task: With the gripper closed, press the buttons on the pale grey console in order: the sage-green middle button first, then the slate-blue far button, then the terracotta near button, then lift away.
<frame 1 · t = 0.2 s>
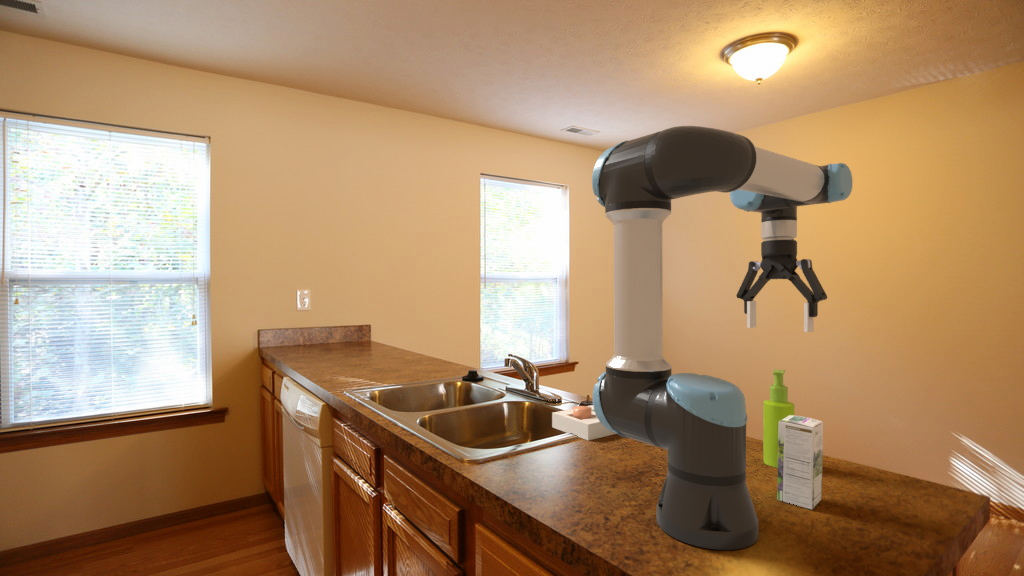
hand: (778, 329, 119), 28 cm above the worktop, fingers open, 13 cm apart
terracotta button: (582, 414, 132), point 4 cm above the worktop, slide at 0.0 cm
syrup box: (800, 502, 89), on the worktop
blue button: (626, 405, 141), point 4 cm above the worktop, slide at 0.0 cm
button panel: (605, 425, 137), on the worktop
green button: (605, 409, 137), point 4 cm above the worktop, slide at 0.0 cm
soap dispenser: (778, 463, 108), on the worktop
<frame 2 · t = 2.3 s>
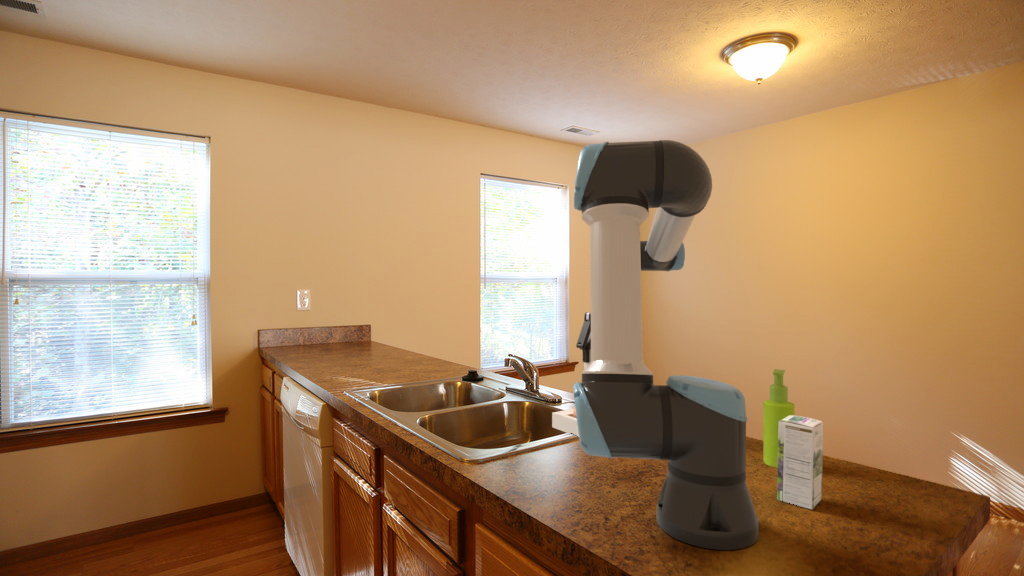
hand: (606, 372, 137), 15 cm above the worktop, fingers open, 12 cm apart
nothing on the worktop moved.
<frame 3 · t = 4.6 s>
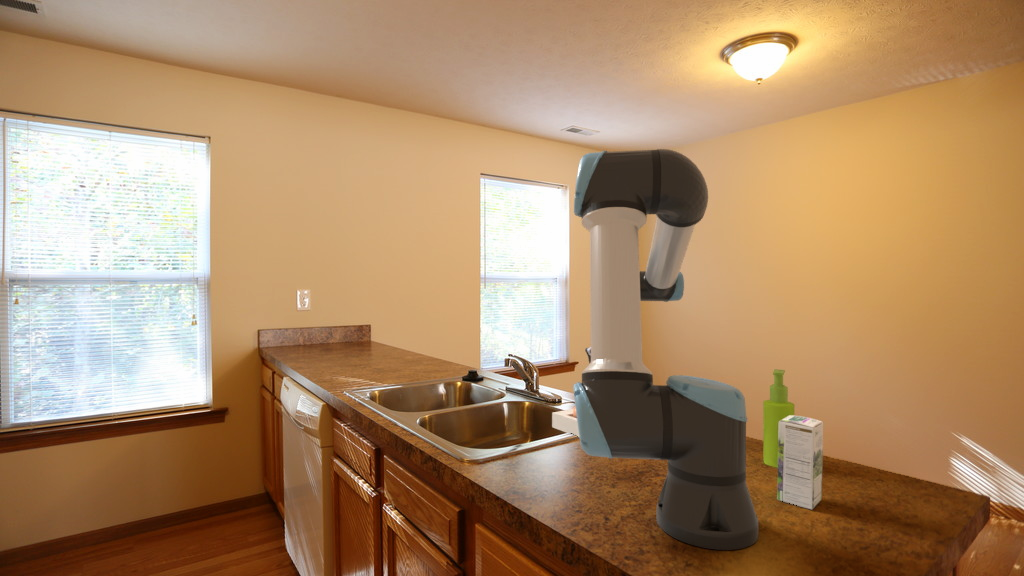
hand: (605, 407, 137), 5 cm above the worktop, fingers closed
green button: (605, 414, 137), point 3 cm above the worktop, slide at 1.3 cm, touching gripper
everything else where it was.
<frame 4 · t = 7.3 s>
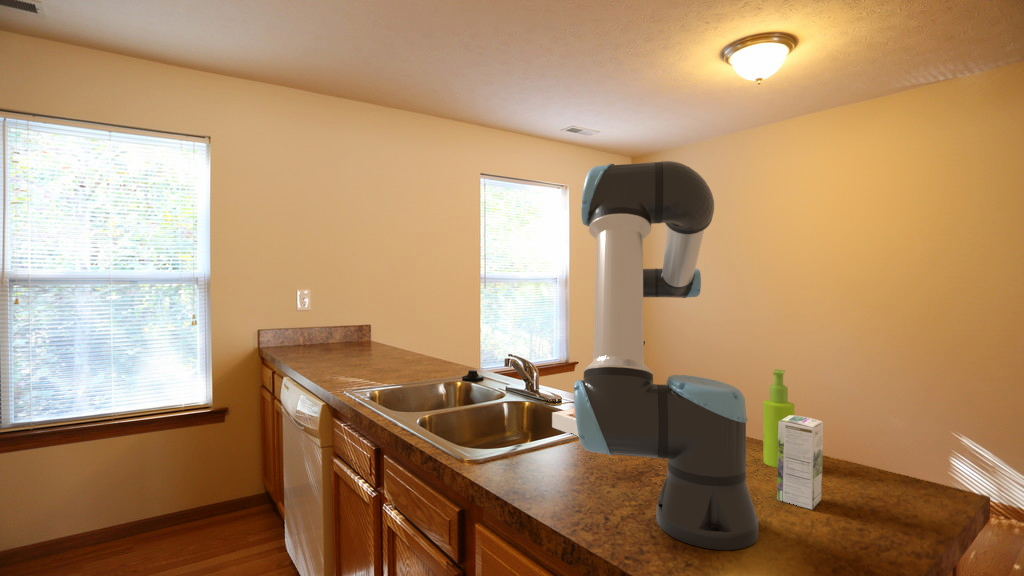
hand: (626, 400, 142), 6 cm above the worktop, fingers closed
blue button: (626, 406, 141), point 4 cm above the worktop, slide at 0.5 cm, touching gripper
green button: (605, 415, 137), point 3 cm above the worktop, slide at 1.5 cm
everything else where it was.
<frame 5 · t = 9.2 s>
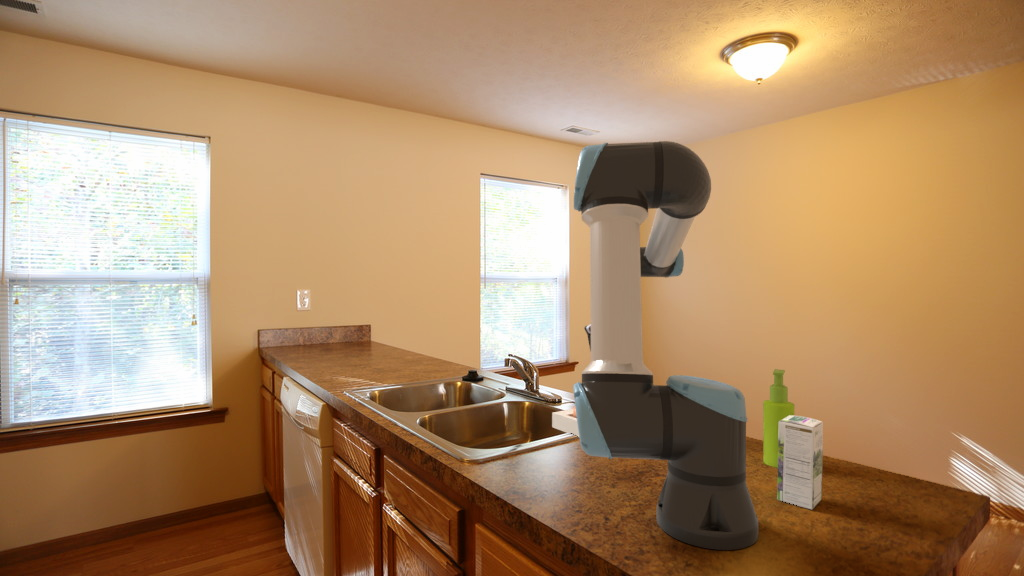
hand: (604, 386, 136), 11 cm above the worktop, fingers closed
blue button: (626, 410, 141), point 3 cm above the worktop, slide at 1.5 cm
everything else where it was.
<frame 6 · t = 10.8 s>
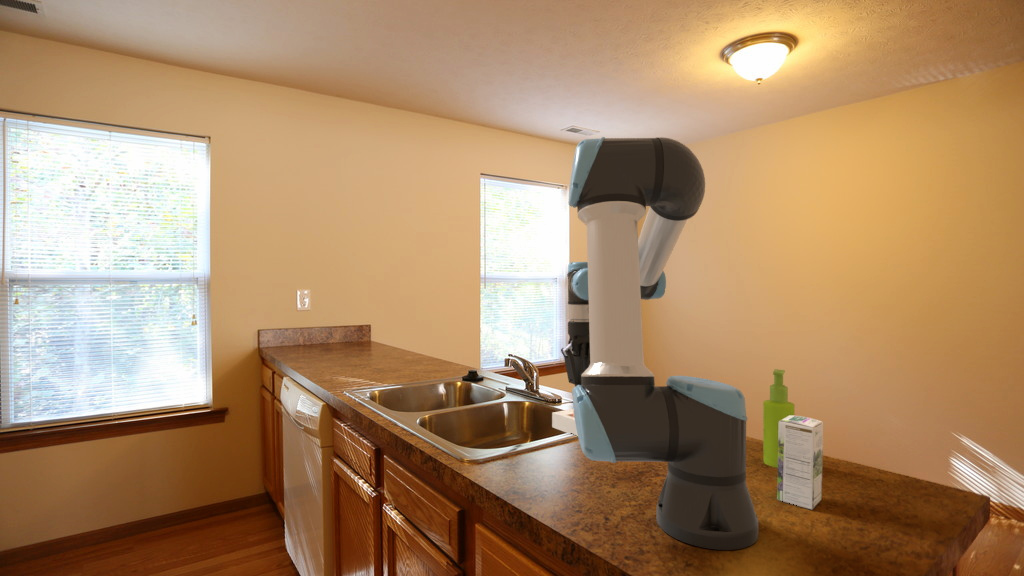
hand: (582, 409, 132), 6 cm above the worktop, fingers closed
terracotta button: (582, 416, 132), point 4 cm above the worktop, slide at 0.7 cm, touching gripper
everything else where it was.
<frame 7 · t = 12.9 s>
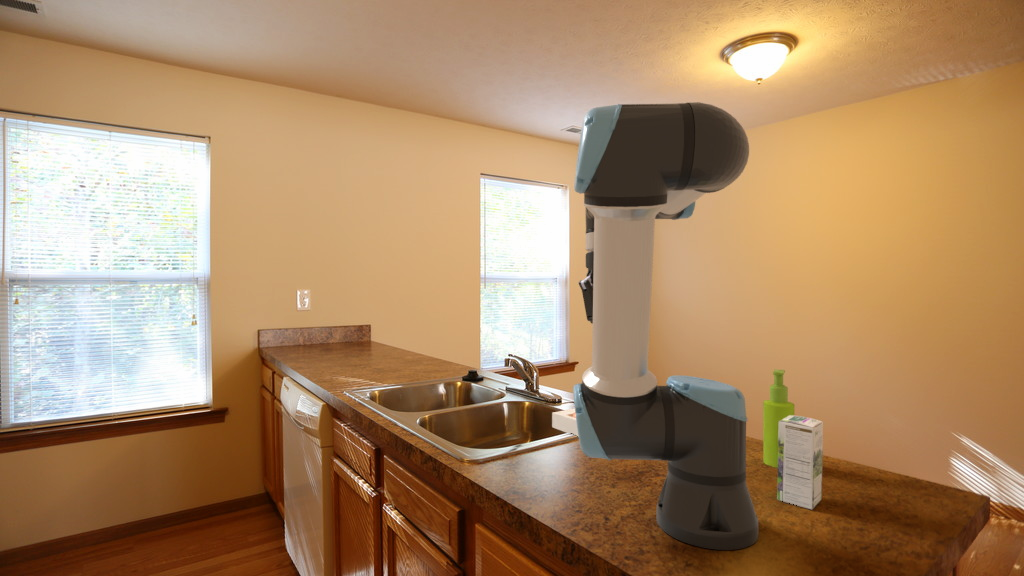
hand: (602, 351, 117), 23 cm above the worktop, fingers closed
terracotta button: (582, 419, 132), point 3 cm above the worktop, slide at 1.5 cm
everything else where it was.
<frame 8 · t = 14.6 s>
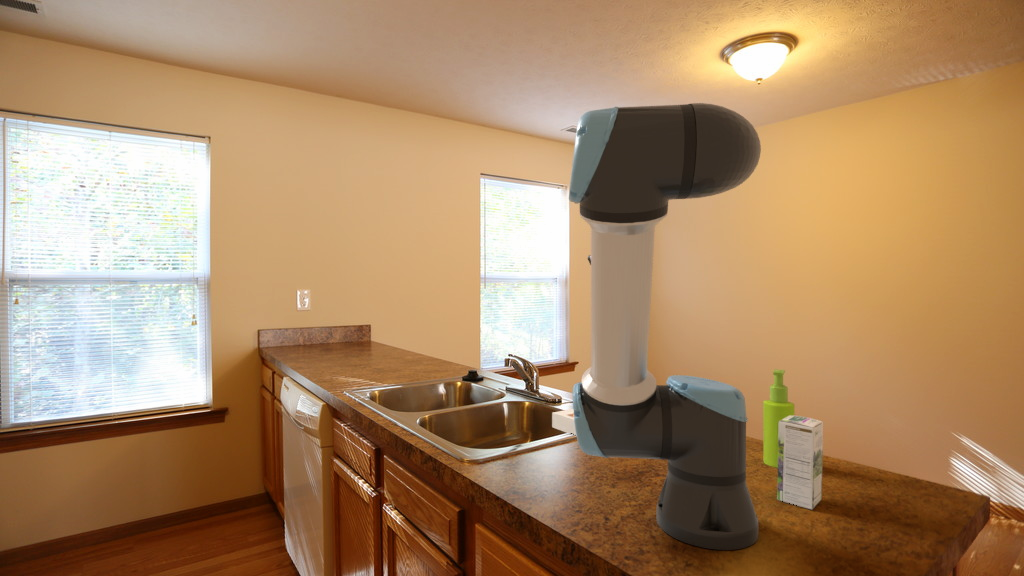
hand: (611, 329, 113), 28 cm above the worktop, fingers closed
nothing on the worktop moved.
at the end: green button slide at 1.5 cm; blue button slide at 1.5 cm; terracotta button slide at 1.5 cm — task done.
